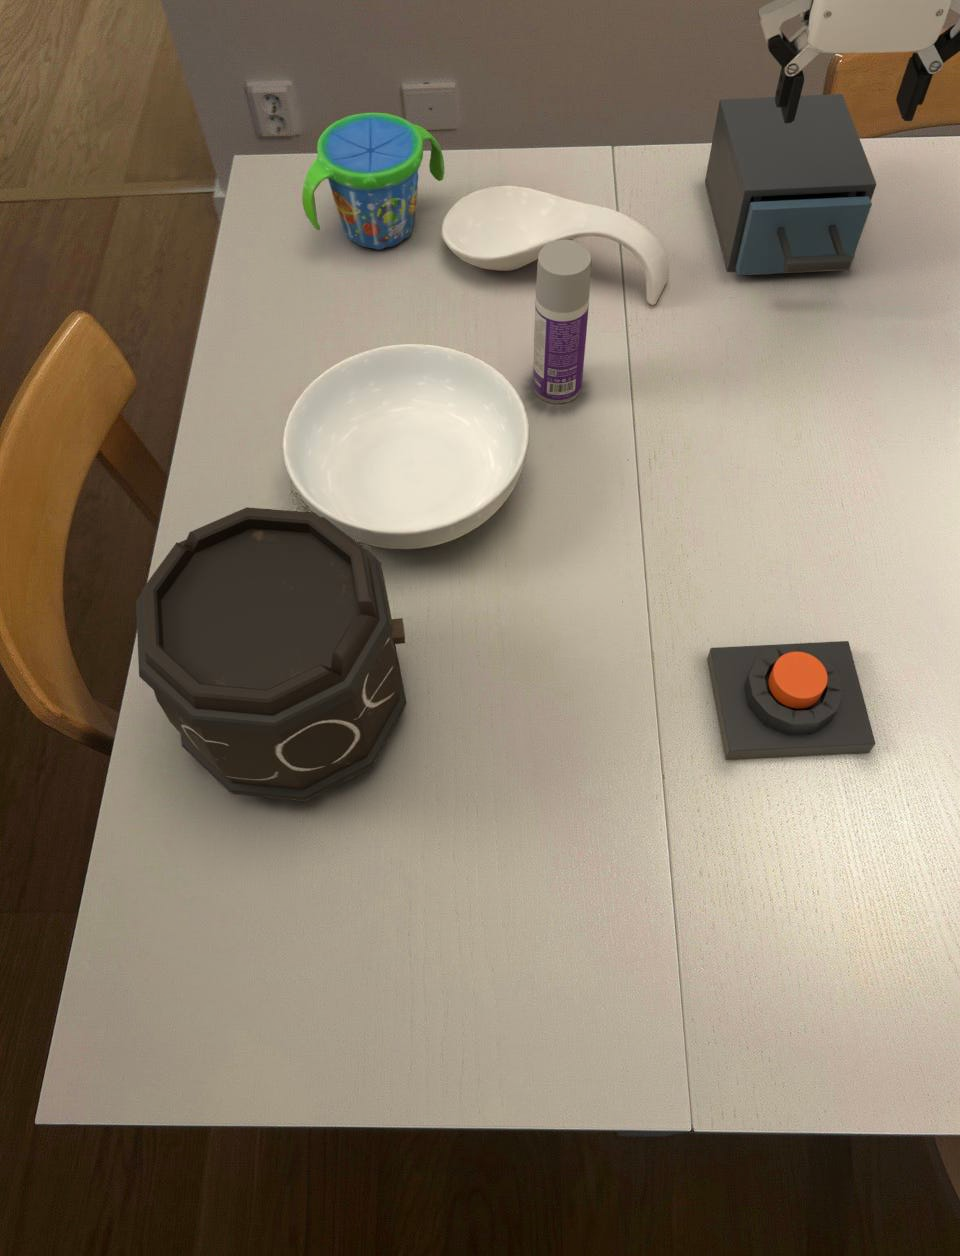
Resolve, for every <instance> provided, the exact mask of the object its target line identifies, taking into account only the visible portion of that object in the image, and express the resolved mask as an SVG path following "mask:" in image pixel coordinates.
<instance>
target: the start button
mask: <svg viewBox="0 0 960 1256" xmlns="http://www.w3.org/2000/svg"><path fill="white" fill-rule="evenodd" d="M827 681H828V676H827V672H826V669H825V667H824V666H823V664H822V663H821V662H820V661H819V660H818V659H817V658H815V657H814V656H812V655H810V654H807V653H804V652H790V653H786V654H784V655H782V656H781V657H780V658H779V659H778V660H777V661H776V663H775V665H774V667H773V669H772V671H771V674H770V676H769V688H770V691H771V693H772V695H773V696H774V697H775V699H776V700H777V701H779V702H780V703H781V704H783V705H785V706H787V707H790V708H795V709H803V708H807V707H810V706H812V705H814V704H815V703H816V702H817V701H818V700H819V698H820V697H821V695H822V693H823V691H824V689H825V687H826V685H827Z"/></svg>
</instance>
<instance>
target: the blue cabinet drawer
mask: <svg viewBox="0 0 960 1256" xmlns="http://www.w3.org/2000/svg"><path fill="white" fill-rule="evenodd" d="M856 194H857V192H841V193H820V194H799V195H779V196H758V197H751V201H750V205H749V210H748V214H747V219H746V223H745V228H744V232H743V236H742V241H741V245H740V250H739V255H738V259H737V264H736V271H735V272H736V275H737V276H752V275H753V276H756V275H774V274H793V273H794V274H795V273H814V272H815V273H816V272H835V271H838V272H839V271H850V270H851V266H852V264H853V261H854V258H855V255H856V252H857V250H858V249H857V248H858V246H859V244H860V240H861V237H862V235H863V231H864V228H865V226H866V223H867V219H868V217H869V213H870V211H871V208H872V199H871V200H870V198H869V196H866V197H856Z"/></svg>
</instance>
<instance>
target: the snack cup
mask: <svg viewBox="0 0 960 1256" xmlns="http://www.w3.org/2000/svg"><path fill="white" fill-rule="evenodd" d="M427 140H429V142H430V144H431V148H430V158H429V166H428V167H429V172H430V174H431V175H432V177H433V178H434V179H435V180H436V181H438V182H442V181H443V180H444V177H445V176H444V175H445V172H446V171H445V161H444V155H443V151H442V148H441V146H440V144H439V142H438V141H437V139H436V138H435V137H434V136H433V134H431V133H430V132H429V131H428V130H426V129H425V128H424V127H422V126H420V125H418V124H414V123H411V122H410V121H409V120H407V119H405V118H403V117H400V116H398V115H395V114H391V113H386V112H362V113H357V114H351V115H347V116H345V117H343V118H340V119H338V120H336V121H335V122H333V123H331V124H330V125H329V126H328V127H327V128H325V130H324V131H323V132H322V133H321V135H319V138H318V140H317V146H316V150H317V151H316V152H317V157H316V159H314V161H313V163H312V164H311V165H310V167H309V168H308V171H307V173H306V175H305V178H304V181H303V186H302V198H301V199H302V201H301V202H302V207H303V211H304V214H305V216H306V217H307V219H308V220H309V222H310V223H311V225H312V226H313V228H315V230H317V231H320V230H321V226H320V224H319V222H318V215H317V207H316V198H315V197H316V196H315V192H316V190H317V189H318V187H319V186H320V185H321V183H322V182H324V181H325V180H327V181H328V184H329V187H330V191H331V195H332V198H333V201H334V204H335V207H336V209H337V212H338V215H339V220H340V222H341V225H342V228H343V231H344V233H345V235H346V238H347V240H349V241H350V242H354V243H355V244H357V245H359V246H361V247H365V248H368V249H375V250H379V251H381V250H384V249H385V248H389V247H393V246H396V245H398V244H400V243H401V242H402V241H403V240H405V239H407V238H409V237H411V235H412V231H413V228H414V225H415V221H416V212H417V211H416V210H417V201H418V200H417V199H418V190H419V189H418V187H419V185H418V183H419V169H420V167H421V164H422V162H423V159H424V142H425V141H427Z"/></svg>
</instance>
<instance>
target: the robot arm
mask: <svg viewBox="0 0 960 1256" xmlns="http://www.w3.org/2000/svg"><path fill="white" fill-rule="evenodd" d="M949 10H950V11H952V12H954V13H955V14H957V15H959V16H960V0H773V1H771V2H769V3H767V4H765V5H762V6H761V7H760V8H759V10H758V13H757V14H758V19H759V23H760V26H761V29H762V33H763V36H764V40H765V42H766V45H767V49H768V51H769V53H770V54H771V55H772V58H774V59H775V60H776V62H777V63H778V64H779V65H780V67H781V68H780V73H779V76H778V82H777V86H776V90H775V95H774V97H775V103H776V107H781V111H782V115H783V119H784V123H792V121H794V120H795V116H796V112H797V108H798V104H799V100H800V96H802V91H803V88H804V84H805V73H804V71H803V70H804V69H805V68H806V67H807V66H808V65H809V64H810V63H812V62H813V60H815V58H817V57H818V56H819V55H820V54H821V53H822V54H881V53H882V54H885V53H886V54H887V53H888V54H889V53H912V55H911V56H910V57H909V58H908V61H907V63H906V67H905V70H904V74H903V76H902V80H901V82H900V85H899V88H898V91H897V94H896V99H895V101H896V104H897V107H898V110H899V113H900V116H901V119H902V120H903V121H904V122H912V121H913V120H914V117H915V115H916V111H917V109H918V107H919V106H922V105H923V104H924V102H925V98H926V95H927V93H928V90H929V88H930V84H931V83H932V82H931V81H932V78H933V75H935V74H938V73H939V72H941V70H942V69H943V67H944V63H946V62H947V61H948V60H950V59H951V58H952V57H954V56H956V55H957V54H958V53H960V18H959V19H958V20H957V23H956V24H953V25H951V26H950V27H948V28H947V29H946V30H944V31H943V32H942V30H943V28H944V26H945V23H946V20H947V16H948V14H949ZM798 16H800V22H801V23H804V24H803V25H802V26H801V27H800V28H799V29H798V30H797V31H796V32H795V33H793V35H792V36H791V37H789V38H788V37H787V36H786V35H785V34H784V32H783V31H782V30H781V26H782V24H784V23H785V22H787V21H789V20H791V19H793V18H795V17H798ZM941 32H942V33H941Z"/></svg>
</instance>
